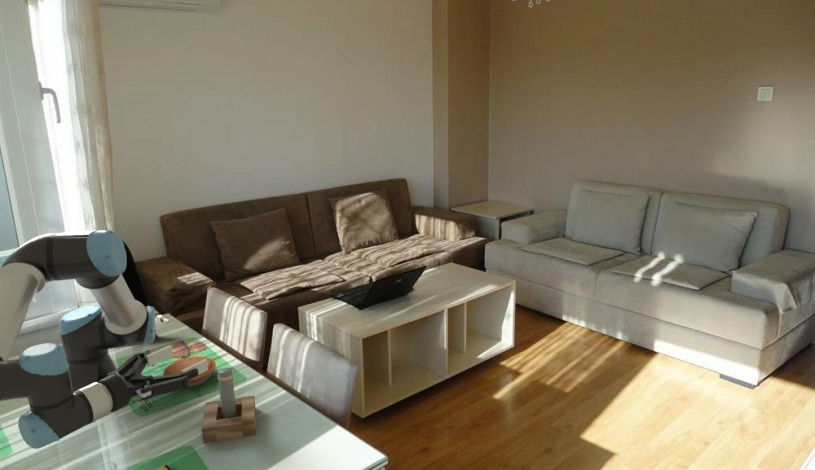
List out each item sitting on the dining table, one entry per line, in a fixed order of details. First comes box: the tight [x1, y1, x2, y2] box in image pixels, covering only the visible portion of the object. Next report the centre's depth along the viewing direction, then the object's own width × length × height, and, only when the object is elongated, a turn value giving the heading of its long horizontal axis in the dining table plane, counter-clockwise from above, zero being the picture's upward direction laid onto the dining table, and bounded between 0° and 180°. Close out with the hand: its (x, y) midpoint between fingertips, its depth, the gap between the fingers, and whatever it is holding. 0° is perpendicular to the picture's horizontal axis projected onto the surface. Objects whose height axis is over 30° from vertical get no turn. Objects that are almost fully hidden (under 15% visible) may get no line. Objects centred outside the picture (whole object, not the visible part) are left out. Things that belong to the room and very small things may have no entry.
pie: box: [162, 356, 217, 388], centre depth 179 cm, size 15×16×5 cm
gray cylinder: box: [217, 367, 237, 419], centre depth 153 cm, size 4×4×16 cm
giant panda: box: [152, 313, 170, 343], centre depth 207 cm, size 15×6×10 cm, turn 97°
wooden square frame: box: [201, 395, 257, 444], centre depth 154 cm, size 13×13×4 cm
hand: (188, 357), depth 140 cm, fingers open, 13 cm apart
